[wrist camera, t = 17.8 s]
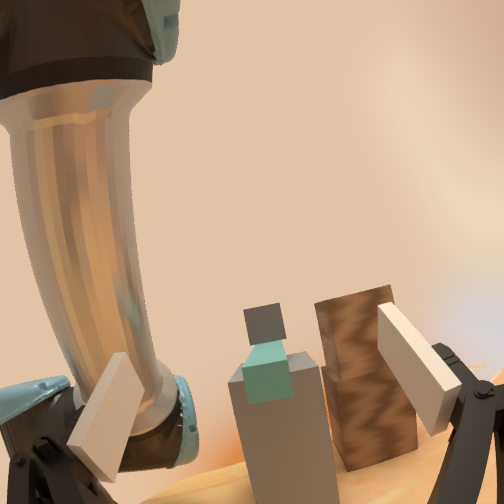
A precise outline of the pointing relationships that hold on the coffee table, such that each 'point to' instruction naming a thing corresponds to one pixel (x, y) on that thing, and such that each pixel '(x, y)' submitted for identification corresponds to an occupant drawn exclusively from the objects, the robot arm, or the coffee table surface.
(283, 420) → the grey block
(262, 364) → the teal bar
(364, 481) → the coffee table surface
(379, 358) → the walnut tower
